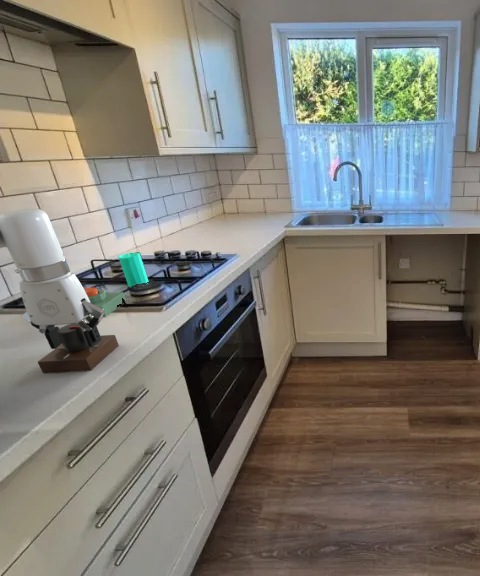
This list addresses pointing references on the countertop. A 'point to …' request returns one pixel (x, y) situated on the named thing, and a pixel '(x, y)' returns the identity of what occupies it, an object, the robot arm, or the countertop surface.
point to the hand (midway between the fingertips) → (77, 344)
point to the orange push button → (91, 291)
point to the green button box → (107, 301)
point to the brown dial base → (78, 357)
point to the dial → (73, 338)
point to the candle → (133, 268)
